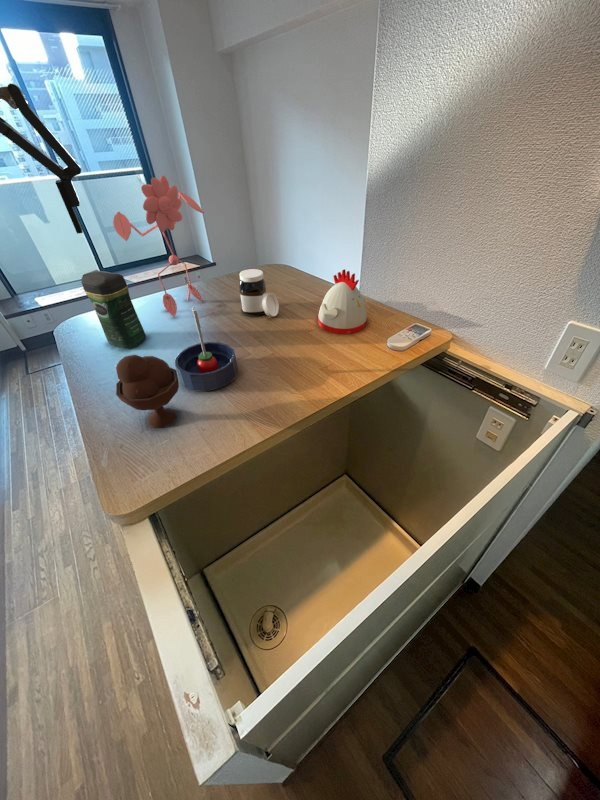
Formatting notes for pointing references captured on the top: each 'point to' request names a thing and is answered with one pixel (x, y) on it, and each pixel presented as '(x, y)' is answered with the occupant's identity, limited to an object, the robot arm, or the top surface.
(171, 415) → the ice cream bowl
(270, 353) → the top surface
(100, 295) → the coffee jar
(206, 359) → the red candy apple
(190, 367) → the dessert bowl
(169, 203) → the figurine
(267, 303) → the spread jar
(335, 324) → the kitchen timer
